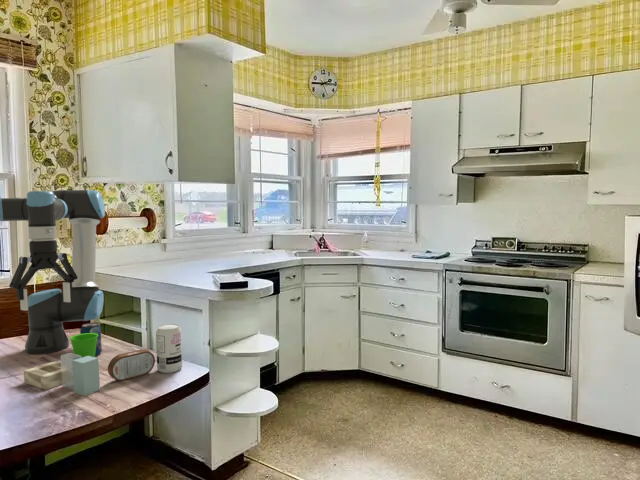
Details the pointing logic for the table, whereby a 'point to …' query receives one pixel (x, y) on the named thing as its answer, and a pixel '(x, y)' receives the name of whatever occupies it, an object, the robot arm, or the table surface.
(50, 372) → the slotted holder
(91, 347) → the cup
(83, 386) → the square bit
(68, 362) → the grey rectangular block
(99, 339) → the soda can
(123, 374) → the tin
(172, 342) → the supplement can
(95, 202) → the robot arm
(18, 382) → the table surface
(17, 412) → the table surface
